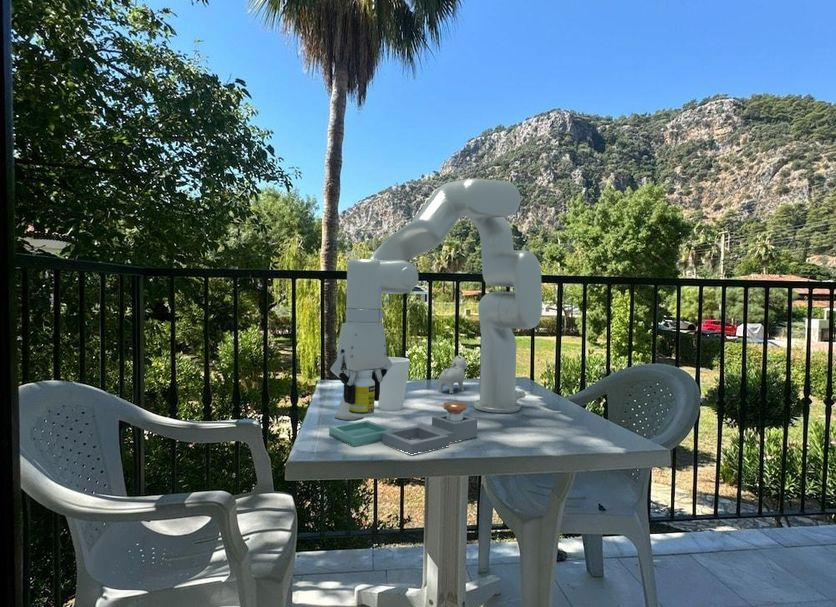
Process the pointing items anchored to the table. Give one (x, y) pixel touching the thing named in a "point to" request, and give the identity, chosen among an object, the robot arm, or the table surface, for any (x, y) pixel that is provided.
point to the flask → (344, 411)
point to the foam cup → (394, 385)
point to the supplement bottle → (363, 395)
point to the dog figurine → (453, 374)
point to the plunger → (455, 410)
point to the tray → (358, 432)
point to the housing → (431, 434)
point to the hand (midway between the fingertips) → (361, 400)
